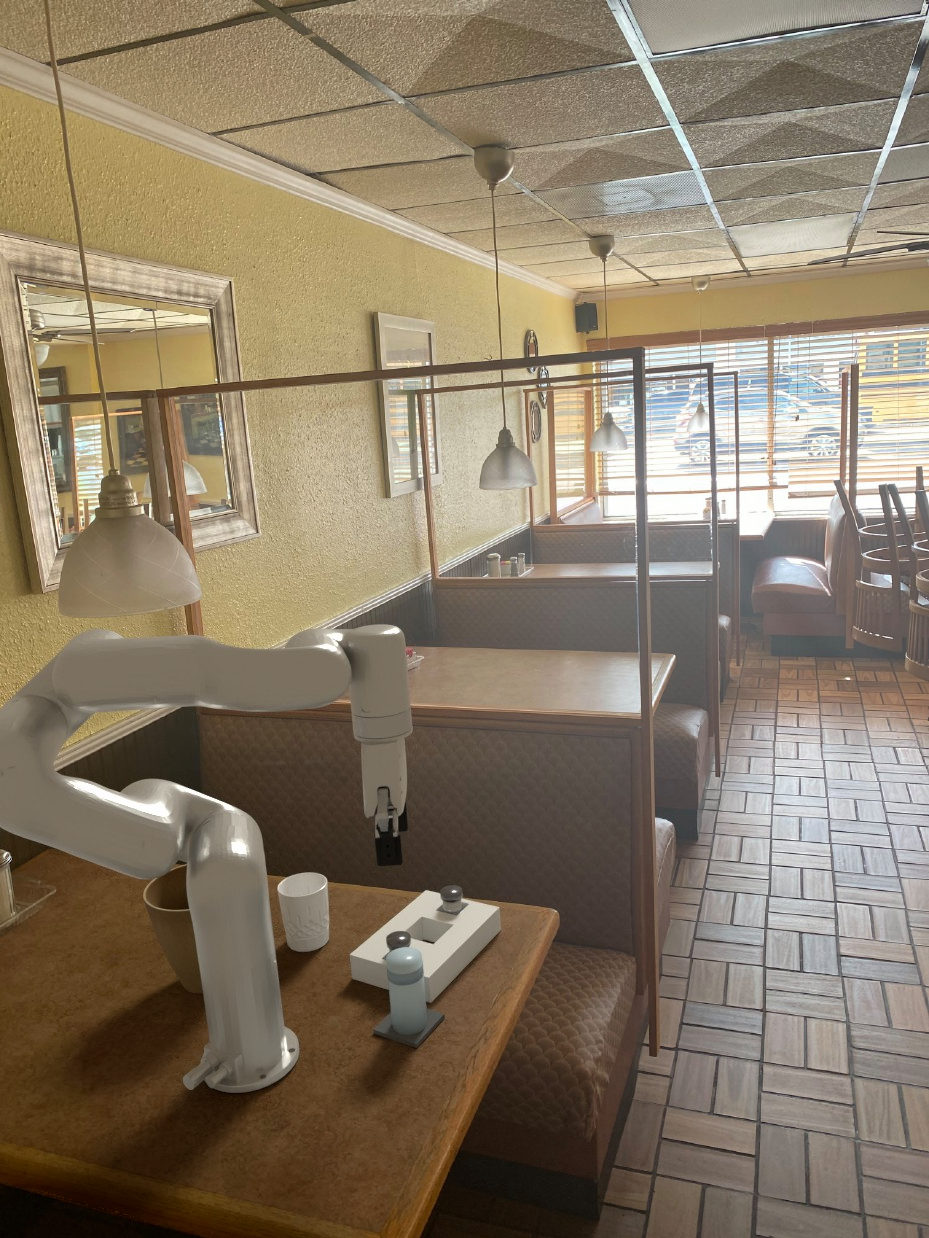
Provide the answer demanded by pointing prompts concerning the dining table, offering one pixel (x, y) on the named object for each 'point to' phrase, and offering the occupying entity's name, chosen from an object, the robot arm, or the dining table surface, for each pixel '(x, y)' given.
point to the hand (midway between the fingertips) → (393, 847)
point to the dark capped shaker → (451, 899)
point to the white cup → (305, 911)
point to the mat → (412, 1040)
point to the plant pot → (174, 925)
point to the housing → (427, 921)
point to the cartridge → (406, 990)
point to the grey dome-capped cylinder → (398, 940)
